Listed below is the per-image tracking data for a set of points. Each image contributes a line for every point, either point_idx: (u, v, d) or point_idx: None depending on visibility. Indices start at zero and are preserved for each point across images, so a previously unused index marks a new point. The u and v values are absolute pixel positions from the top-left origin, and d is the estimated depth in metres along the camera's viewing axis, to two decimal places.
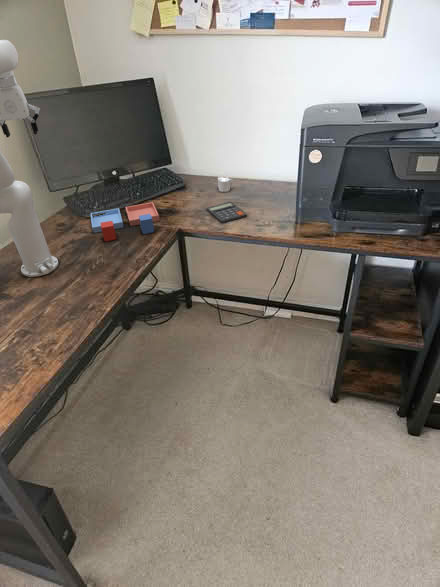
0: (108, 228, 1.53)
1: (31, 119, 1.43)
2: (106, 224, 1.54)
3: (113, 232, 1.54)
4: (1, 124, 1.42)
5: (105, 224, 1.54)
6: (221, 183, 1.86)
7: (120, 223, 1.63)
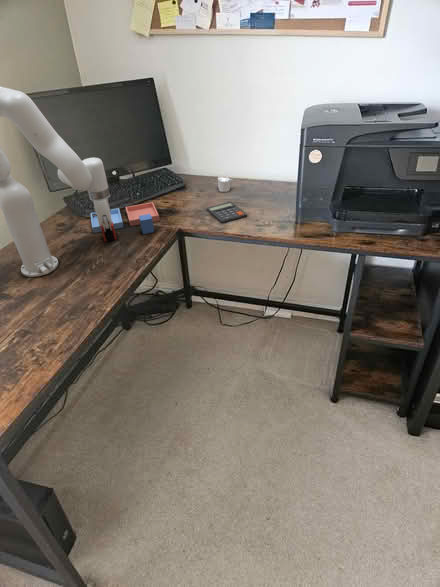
0: None
1: (104, 229, 1.52)
2: None
3: (113, 232, 1.54)
4: None
5: None
6: (221, 183, 1.86)
7: (120, 223, 1.63)
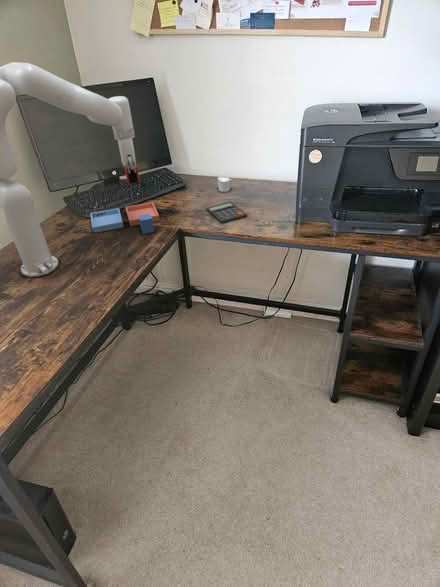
0: None
1: (128, 170, 1.55)
2: None
3: (137, 174, 1.57)
4: None
5: None
6: (221, 183, 1.86)
7: (120, 223, 1.63)
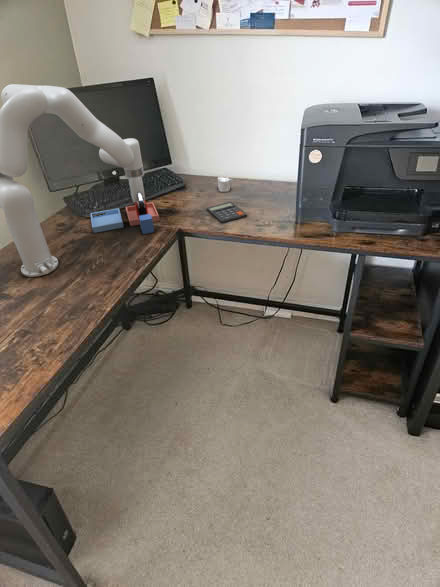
0: None
1: None
2: (139, 202, 1.67)
3: (146, 209, 1.68)
4: None
5: None
6: (221, 183, 1.86)
7: (120, 223, 1.63)
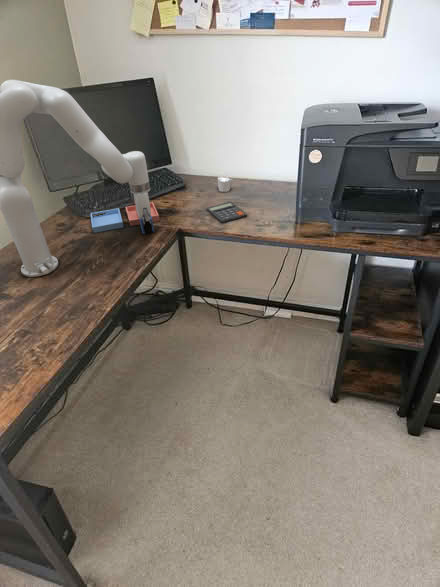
0: None
1: (143, 221, 1.55)
2: None
3: None
4: None
5: None
6: (221, 183, 1.86)
7: (120, 223, 1.63)
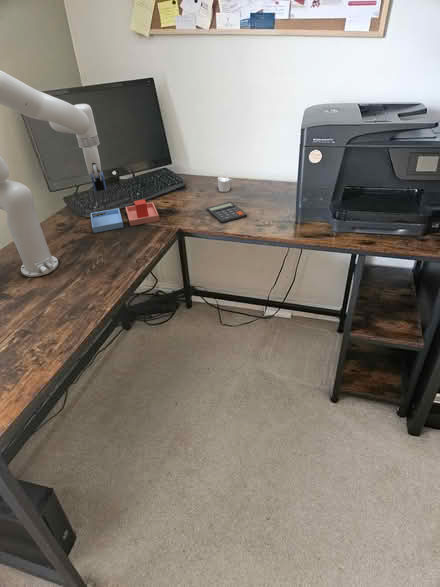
0: (142, 205, 1.66)
1: (94, 178, 1.53)
2: (139, 202, 1.67)
3: (146, 209, 1.68)
4: None
5: (138, 202, 1.68)
6: (221, 183, 1.86)
7: (120, 223, 1.63)
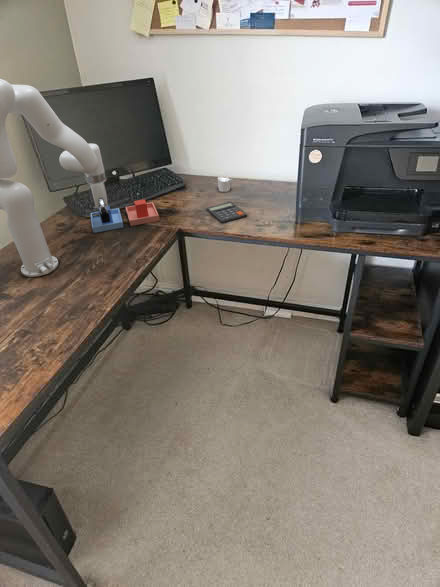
0: (142, 205, 1.66)
1: (100, 211, 1.59)
2: (139, 202, 1.67)
3: (146, 209, 1.68)
4: None
5: (138, 202, 1.68)
6: (221, 183, 1.86)
7: (120, 223, 1.63)
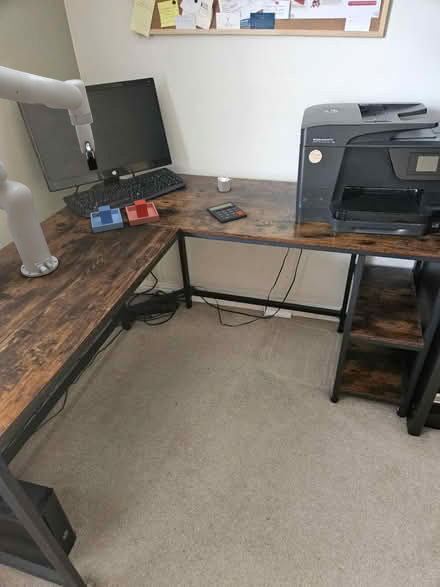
0: (142, 205, 1.66)
1: None
2: (139, 202, 1.67)
3: (146, 209, 1.68)
4: None
5: (138, 202, 1.68)
6: (221, 183, 1.86)
7: (120, 223, 1.63)
